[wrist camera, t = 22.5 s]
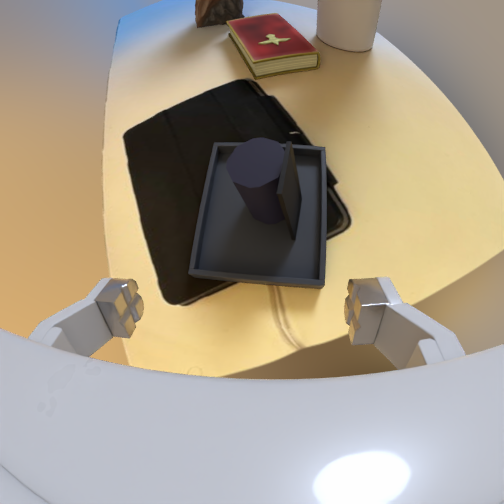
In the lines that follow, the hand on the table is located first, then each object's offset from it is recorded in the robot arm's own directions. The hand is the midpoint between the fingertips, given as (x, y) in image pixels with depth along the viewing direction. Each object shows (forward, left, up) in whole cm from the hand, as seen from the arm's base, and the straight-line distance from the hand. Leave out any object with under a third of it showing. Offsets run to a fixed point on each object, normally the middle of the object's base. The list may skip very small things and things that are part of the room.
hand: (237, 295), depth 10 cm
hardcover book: (+49, +3, -19) cm, 53 cm away
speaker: (+12, +1, -19) cm, 23 cm away
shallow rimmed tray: (+12, +1, -19) cm, 23 cm away
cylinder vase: (+56, -13, -19) cm, 61 cm away
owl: (+68, +17, -19) cm, 73 cm away
